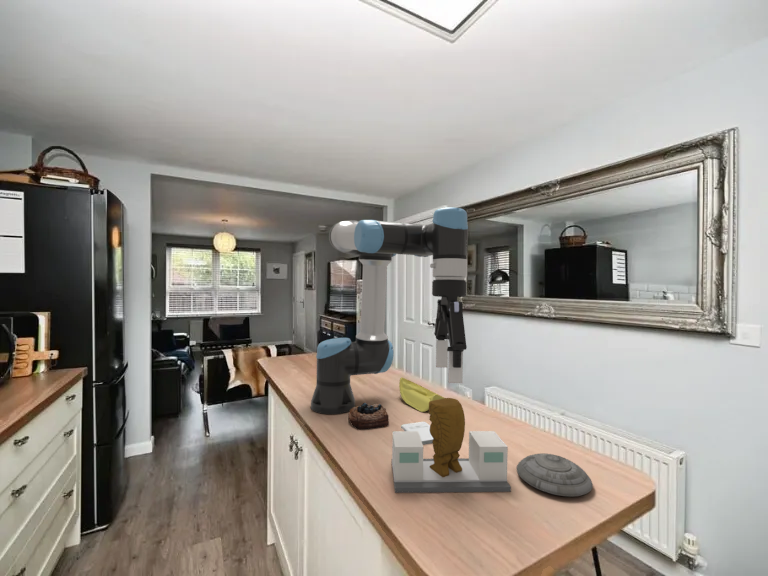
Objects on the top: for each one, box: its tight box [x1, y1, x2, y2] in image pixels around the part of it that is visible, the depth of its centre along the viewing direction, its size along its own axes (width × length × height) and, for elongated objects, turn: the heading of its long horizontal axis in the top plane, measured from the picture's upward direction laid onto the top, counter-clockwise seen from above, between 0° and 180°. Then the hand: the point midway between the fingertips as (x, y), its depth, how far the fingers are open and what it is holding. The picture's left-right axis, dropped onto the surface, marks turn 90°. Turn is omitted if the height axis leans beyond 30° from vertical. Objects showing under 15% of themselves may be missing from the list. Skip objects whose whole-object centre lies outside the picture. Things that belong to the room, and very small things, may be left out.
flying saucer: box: [516, 452, 594, 497], centre depth 77 cm, size 15×15×6 cm
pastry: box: [348, 402, 390, 431], centre depth 108 cm, size 11×12×6 cm
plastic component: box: [398, 377, 445, 413], centre depth 128 cm, size 20×7×10 cm
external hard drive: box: [400, 421, 433, 446], centre depth 100 cm, size 2×8×12 cm
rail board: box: [391, 430, 512, 494], centre depth 78 cm, size 12×24×8 cm, turn 92°
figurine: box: [428, 397, 466, 477], centre depth 78 cm, size 7×7×15 cm
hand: (447, 374), depth 78 cm, fingers open, 13 cm apart
